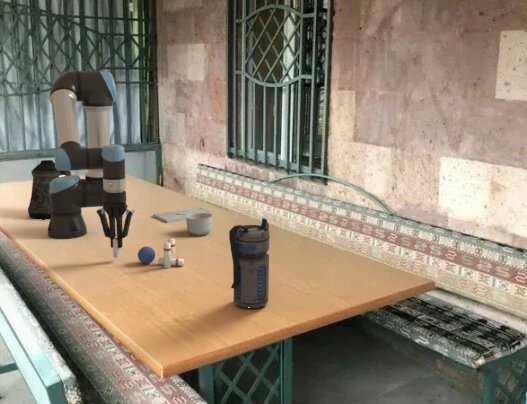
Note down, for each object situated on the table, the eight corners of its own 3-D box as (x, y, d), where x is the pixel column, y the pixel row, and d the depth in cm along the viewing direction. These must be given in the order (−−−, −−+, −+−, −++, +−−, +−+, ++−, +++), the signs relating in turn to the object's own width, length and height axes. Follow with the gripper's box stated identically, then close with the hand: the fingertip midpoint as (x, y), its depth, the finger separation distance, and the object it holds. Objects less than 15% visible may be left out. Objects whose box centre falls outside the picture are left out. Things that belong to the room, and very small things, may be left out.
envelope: (153, 218, 280) (167, 224, 269) (152, 213, 279) (167, 219, 268) (198, 210, 293) (214, 216, 283) (198, 206, 293) (213, 211, 282)
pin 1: (162, 268, 209) (162, 244, 207) (165, 266, 212) (164, 242, 210) (169, 268, 209) (169, 244, 207) (172, 266, 211) (171, 242, 209)
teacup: (208, 238, 247) (208, 218, 245) (182, 236, 249) (182, 217, 247) (217, 229, 260) (217, 211, 258) (193, 227, 262) (192, 209, 260)
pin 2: (167, 263, 214) (166, 240, 212) (169, 261, 217) (168, 238, 215) (174, 264, 214) (173, 240, 212) (176, 262, 216) (175, 238, 214)
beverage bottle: (219, 304, 179) (220, 221, 173) (255, 294, 187) (256, 214, 182) (240, 315, 171) (241, 228, 166) (277, 304, 179) (279, 221, 174)
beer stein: (20, 217, 273) (16, 162, 268) (50, 208, 291) (47, 156, 286) (49, 221, 267) (46, 165, 262) (78, 212, 285) (76, 159, 280)
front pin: (158, 258, 211) (182, 260, 210) (160, 256, 214) (184, 257, 213) (158, 265, 212) (182, 267, 211) (160, 263, 214) (184, 264, 213)
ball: (156, 260, 211) (141, 268, 211) (159, 257, 217) (144, 264, 217) (148, 245, 210) (132, 252, 211) (151, 242, 216) (136, 249, 216)
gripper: (91, 191, 207) (94, 258, 212) (128, 193, 205) (131, 260, 210) (100, 187, 214) (103, 252, 220) (136, 189, 213) (138, 254, 218)
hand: (117, 256), depth 215 cm, fingers closed
